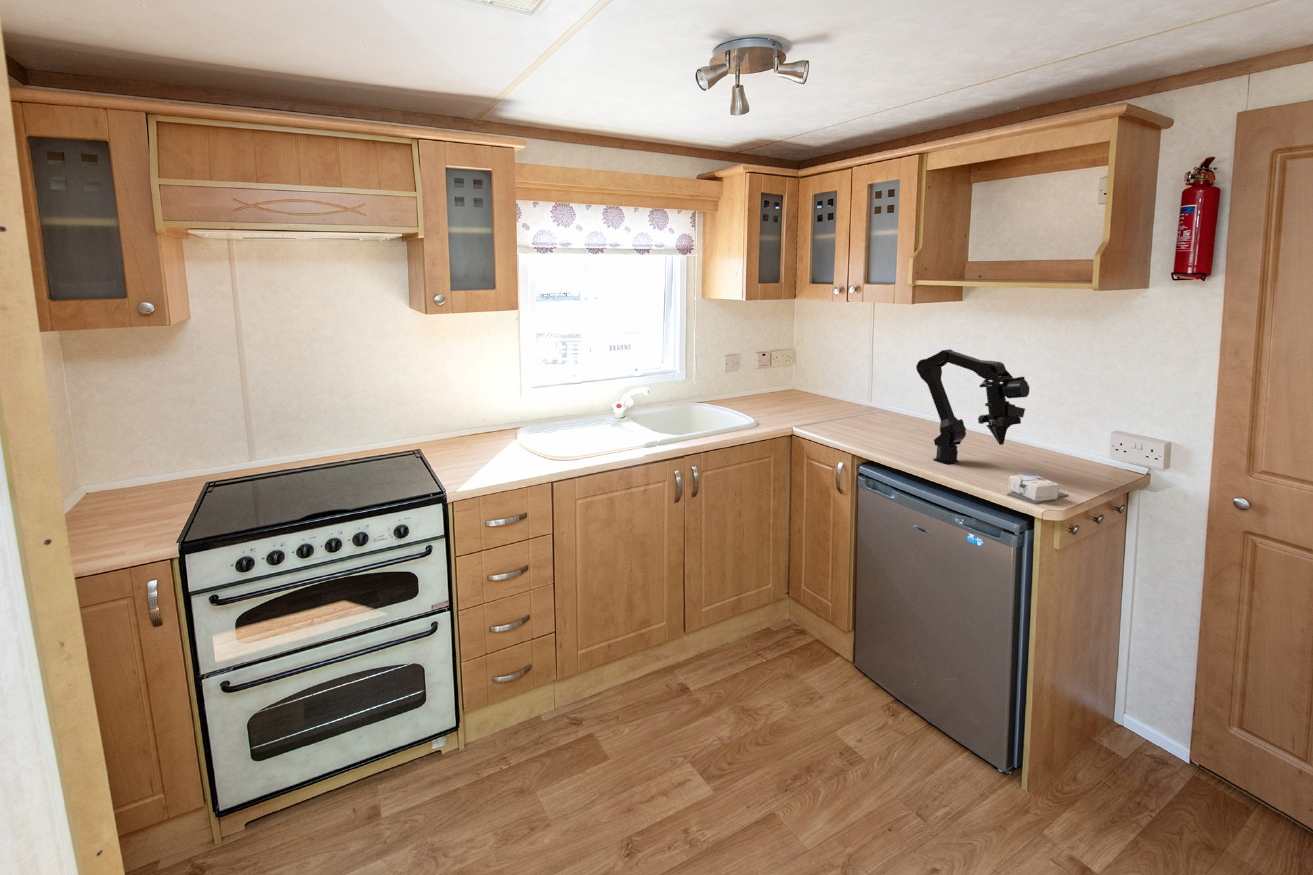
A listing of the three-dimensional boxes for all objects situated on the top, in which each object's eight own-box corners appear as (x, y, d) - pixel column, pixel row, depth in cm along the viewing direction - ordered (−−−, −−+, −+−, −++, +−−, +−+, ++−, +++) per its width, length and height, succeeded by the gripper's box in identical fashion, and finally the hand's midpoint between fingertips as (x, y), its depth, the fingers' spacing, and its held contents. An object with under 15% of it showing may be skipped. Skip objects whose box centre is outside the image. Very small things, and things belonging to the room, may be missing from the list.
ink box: (1031, 473, 235) (1060, 483, 224) (1029, 488, 236) (1058, 499, 225) (1009, 475, 232) (1037, 485, 221) (1007, 490, 234) (1035, 501, 223)
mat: (1006, 494, 230) (1006, 493, 230) (1038, 487, 238) (1038, 485, 237) (1035, 504, 222) (1035, 503, 222) (1068, 495, 229) (1068, 494, 229)
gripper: (1034, 396, 238) (1039, 443, 239) (1006, 395, 256) (1011, 439, 257) (1000, 401, 238) (1005, 448, 239) (975, 400, 256) (980, 443, 258)
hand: (1001, 444), depth 248 cm, fingers closed
